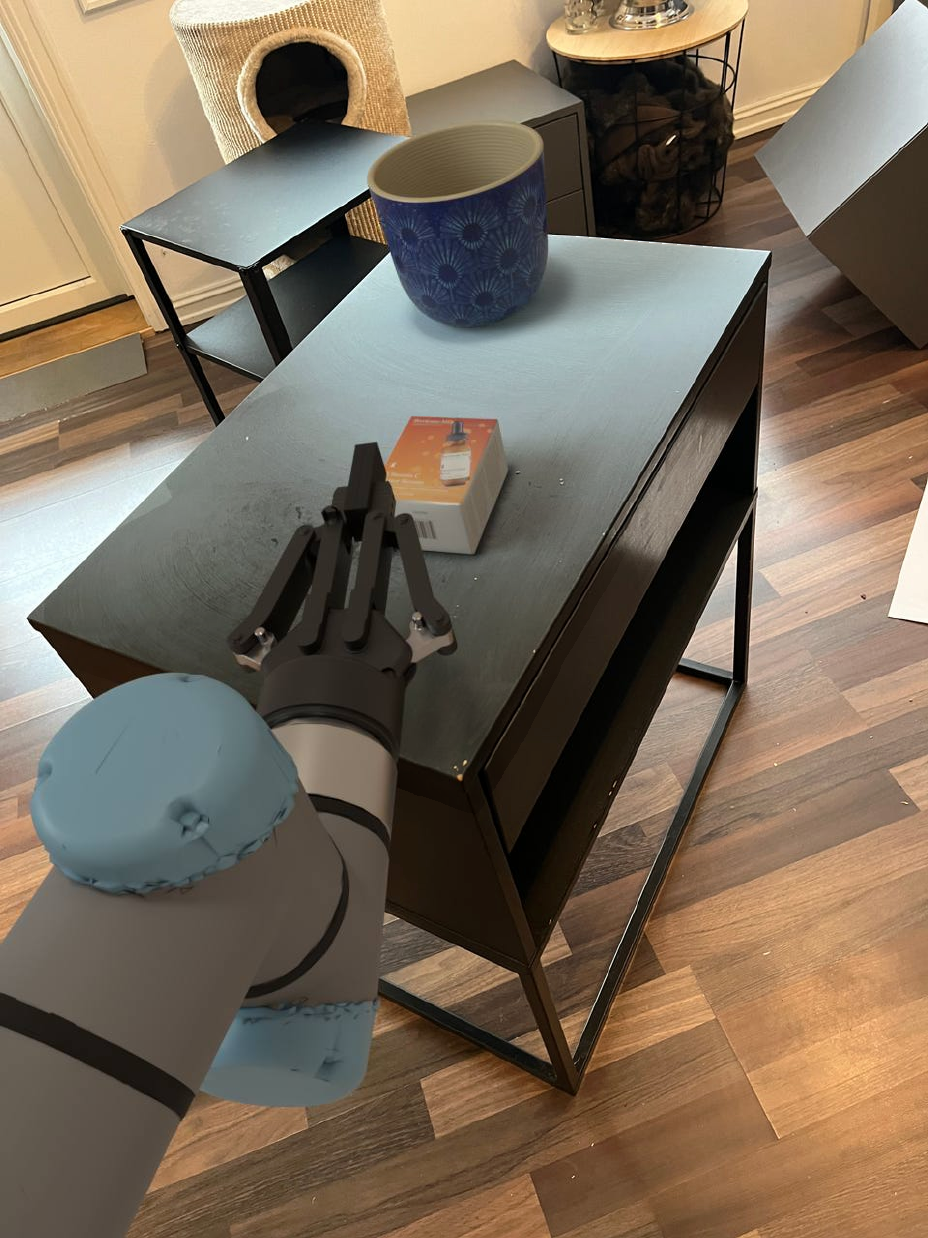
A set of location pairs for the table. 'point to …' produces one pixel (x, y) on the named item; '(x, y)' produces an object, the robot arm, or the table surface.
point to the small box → (447, 479)
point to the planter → (465, 219)
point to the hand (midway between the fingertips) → (371, 459)
